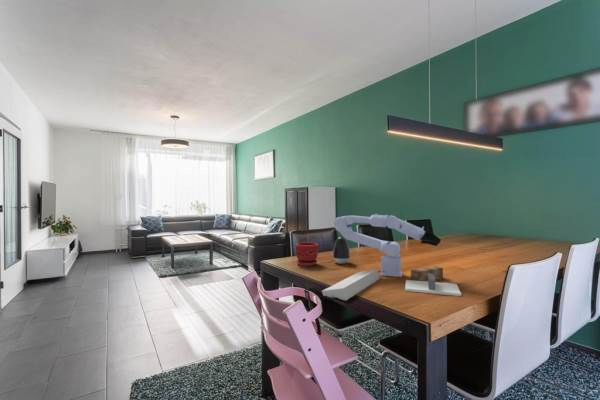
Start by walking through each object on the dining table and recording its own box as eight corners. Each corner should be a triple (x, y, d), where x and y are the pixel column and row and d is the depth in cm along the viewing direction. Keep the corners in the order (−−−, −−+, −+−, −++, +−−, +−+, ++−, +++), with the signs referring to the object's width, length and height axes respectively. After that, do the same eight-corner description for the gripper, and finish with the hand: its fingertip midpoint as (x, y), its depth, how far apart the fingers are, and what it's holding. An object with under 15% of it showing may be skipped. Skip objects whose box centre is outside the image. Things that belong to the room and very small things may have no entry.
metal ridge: (428, 289, 117) (428, 279, 117) (427, 282, 126) (427, 273, 126) (435, 290, 116) (435, 279, 116) (433, 283, 125) (433, 273, 125)
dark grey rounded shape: (334, 265, 166) (333, 238, 166) (331, 261, 176) (331, 235, 176) (352, 264, 166) (351, 237, 166) (348, 260, 177) (347, 235, 177)
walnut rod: (416, 283, 130) (416, 271, 130) (411, 281, 133) (410, 270, 133) (443, 278, 136) (442, 267, 136) (436, 276, 140) (436, 266, 140)
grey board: (405, 290, 119) (405, 288, 119) (405, 282, 131) (405, 279, 131) (461, 296, 111) (461, 293, 111) (456, 286, 123) (456, 284, 123)
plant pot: (319, 266, 163) (319, 245, 163) (295, 267, 163) (295, 245, 163) (317, 261, 176) (317, 241, 176) (295, 262, 176) (295, 242, 176)
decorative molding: (324, 303, 114) (347, 301, 108) (321, 291, 115) (343, 288, 109) (360, 282, 142) (380, 279, 136) (358, 272, 142) (377, 269, 137)
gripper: (414, 219, 134) (445, 232, 129) (412, 225, 147) (440, 237, 142) (407, 232, 133) (438, 246, 128) (406, 238, 146) (433, 250, 141)
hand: (438, 243), depth 135 cm, fingers open, 7 cm apart
